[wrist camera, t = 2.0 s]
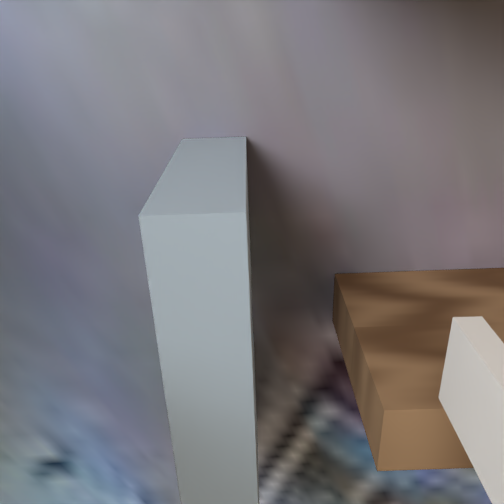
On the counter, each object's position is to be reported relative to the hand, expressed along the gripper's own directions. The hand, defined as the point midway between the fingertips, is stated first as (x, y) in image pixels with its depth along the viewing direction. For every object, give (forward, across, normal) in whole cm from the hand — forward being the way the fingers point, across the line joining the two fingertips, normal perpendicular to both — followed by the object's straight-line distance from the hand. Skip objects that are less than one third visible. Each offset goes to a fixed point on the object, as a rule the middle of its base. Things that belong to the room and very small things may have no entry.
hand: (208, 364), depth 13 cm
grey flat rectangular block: (+12, 0, -5) cm, 13 cm away
